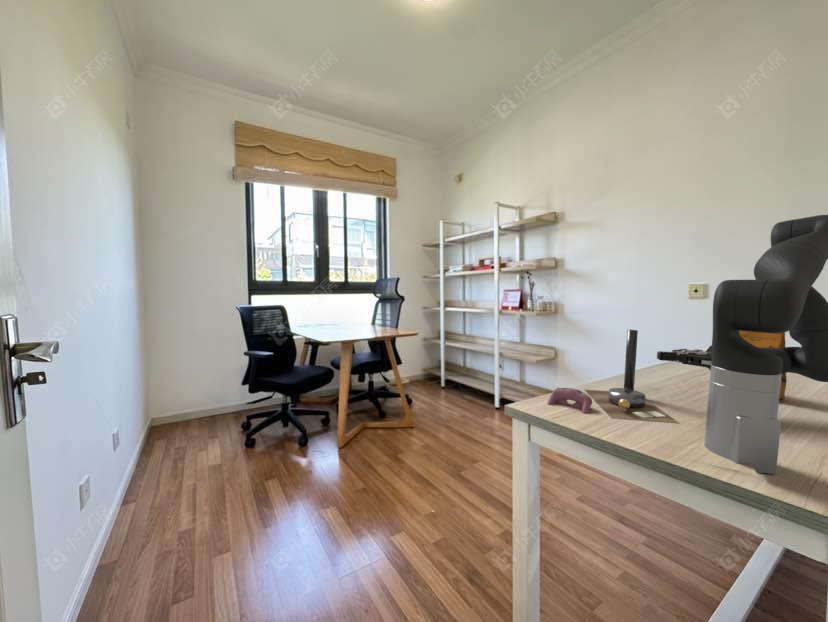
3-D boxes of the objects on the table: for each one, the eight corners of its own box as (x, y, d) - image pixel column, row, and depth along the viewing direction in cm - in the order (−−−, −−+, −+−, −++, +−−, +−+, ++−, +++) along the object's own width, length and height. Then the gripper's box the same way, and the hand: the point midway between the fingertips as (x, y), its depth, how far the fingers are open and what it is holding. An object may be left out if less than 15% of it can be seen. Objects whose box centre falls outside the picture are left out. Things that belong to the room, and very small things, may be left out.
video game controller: (590, 422, 84) (595, 394, 86) (586, 419, 81) (591, 390, 83) (550, 411, 91) (555, 386, 92) (544, 408, 87) (550, 381, 89)
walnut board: (679, 429, 76) (680, 422, 76) (611, 424, 79) (611, 417, 79) (636, 397, 97) (636, 391, 97) (583, 394, 100) (583, 388, 100)
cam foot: (643, 417, 79) (648, 340, 77) (604, 409, 83) (608, 336, 82) (645, 395, 94) (650, 331, 92) (612, 390, 98) (616, 328, 97)
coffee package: (773, 403, 94) (781, 323, 92) (719, 390, 105) (725, 319, 103) (791, 399, 98) (800, 322, 96) (737, 386, 109) (743, 318, 107)
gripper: (719, 341, 95) (648, 338, 99) (754, 350, 82) (671, 346, 86) (716, 367, 95) (646, 363, 99) (751, 381, 83) (669, 375, 87)
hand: (658, 355), depth 93 cm, fingers closed
